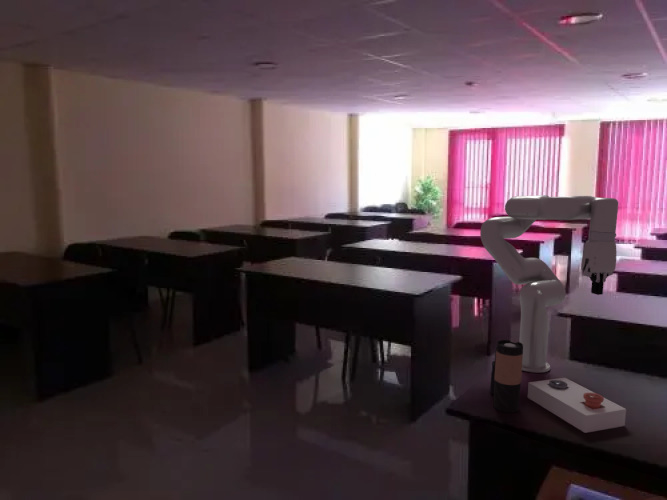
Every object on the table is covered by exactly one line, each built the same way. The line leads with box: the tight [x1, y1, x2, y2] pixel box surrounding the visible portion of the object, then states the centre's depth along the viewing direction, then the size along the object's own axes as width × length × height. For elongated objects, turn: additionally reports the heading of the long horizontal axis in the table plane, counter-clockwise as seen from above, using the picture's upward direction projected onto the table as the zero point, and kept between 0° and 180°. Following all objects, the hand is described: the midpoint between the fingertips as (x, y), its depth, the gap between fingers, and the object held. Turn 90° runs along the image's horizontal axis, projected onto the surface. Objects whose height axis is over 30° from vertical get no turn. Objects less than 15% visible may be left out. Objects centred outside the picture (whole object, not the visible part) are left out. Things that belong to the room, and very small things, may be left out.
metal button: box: [549, 379, 567, 390], centre depth 167 cm, size 5×5×4 cm
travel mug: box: [493, 339, 523, 413], centre depth 162 cm, size 8×8×20 cm
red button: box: [583, 392, 605, 409], centre depth 154 cm, size 5×5×4 cm
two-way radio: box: [489, 346, 497, 395], centre depth 173 cm, size 6×4×15 cm
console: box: [527, 377, 627, 434], centre depth 161 cm, size 24×14×5 cm, turn 19°
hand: (596, 293), depth 173 cm, fingers closed
